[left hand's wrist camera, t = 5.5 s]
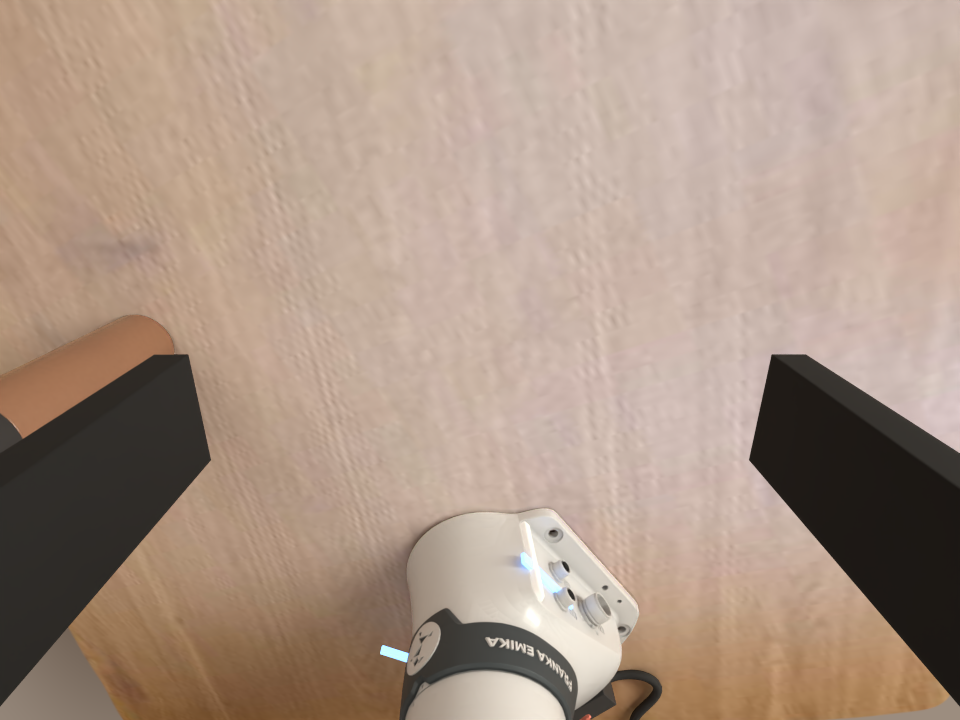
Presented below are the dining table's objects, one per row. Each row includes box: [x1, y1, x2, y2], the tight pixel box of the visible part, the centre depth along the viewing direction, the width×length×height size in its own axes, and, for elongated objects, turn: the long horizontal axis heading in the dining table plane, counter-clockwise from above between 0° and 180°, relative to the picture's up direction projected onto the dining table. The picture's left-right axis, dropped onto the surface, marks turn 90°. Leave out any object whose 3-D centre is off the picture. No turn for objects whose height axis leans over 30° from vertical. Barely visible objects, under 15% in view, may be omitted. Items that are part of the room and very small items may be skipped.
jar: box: [0, 315, 174, 439], centre depth 34 cm, size 5×5×17 cm
